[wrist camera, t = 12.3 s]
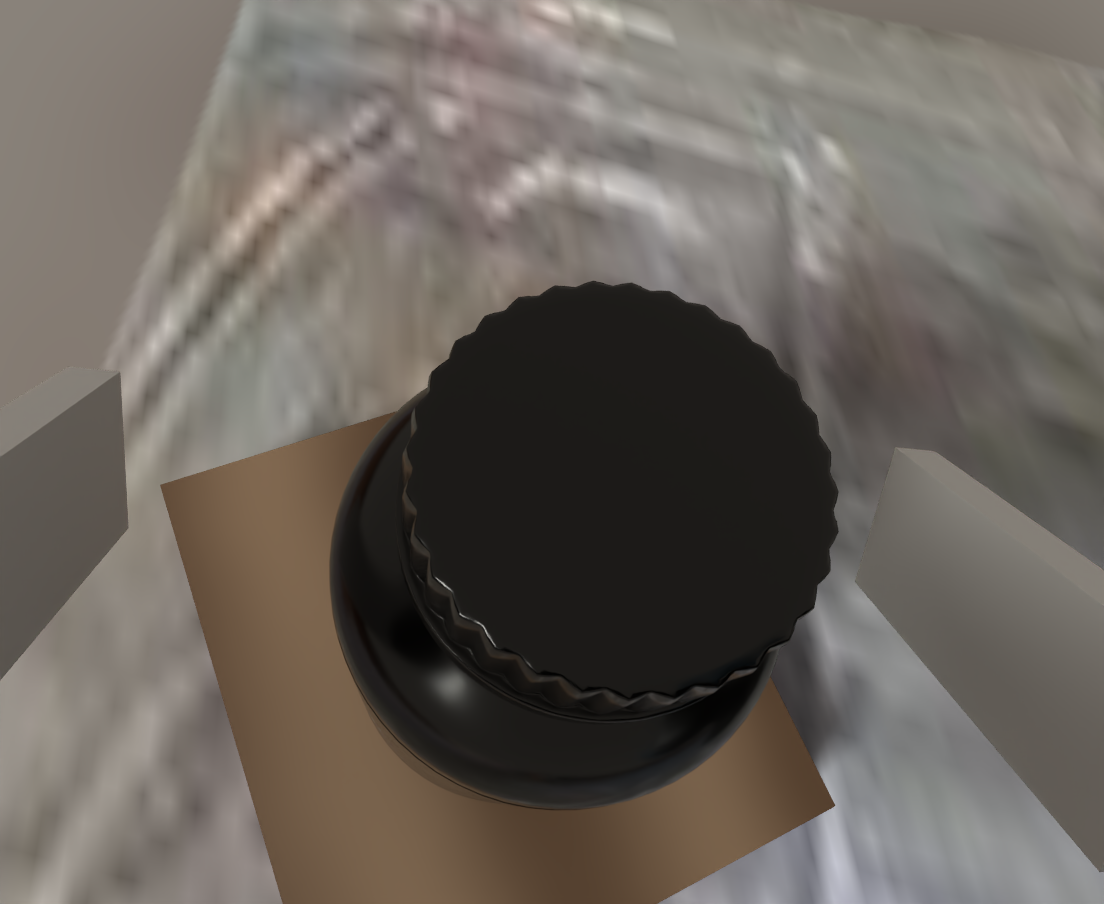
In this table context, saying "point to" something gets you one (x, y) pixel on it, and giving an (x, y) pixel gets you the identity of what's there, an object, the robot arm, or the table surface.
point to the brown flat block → (380, 775)
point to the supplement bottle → (581, 548)
